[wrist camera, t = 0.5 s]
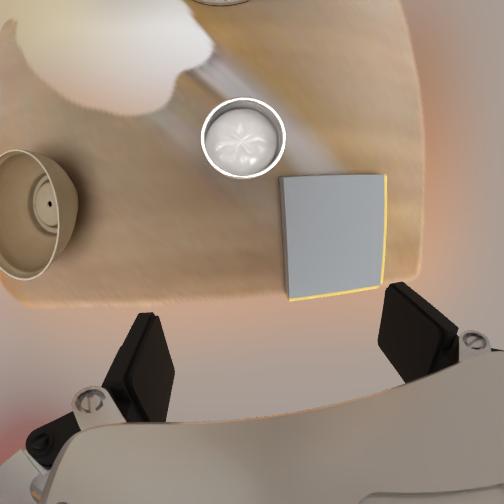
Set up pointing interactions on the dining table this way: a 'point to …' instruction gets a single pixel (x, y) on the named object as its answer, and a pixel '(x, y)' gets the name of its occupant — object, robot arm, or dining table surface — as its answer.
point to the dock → (333, 233)
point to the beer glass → (243, 138)
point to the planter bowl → (33, 213)
